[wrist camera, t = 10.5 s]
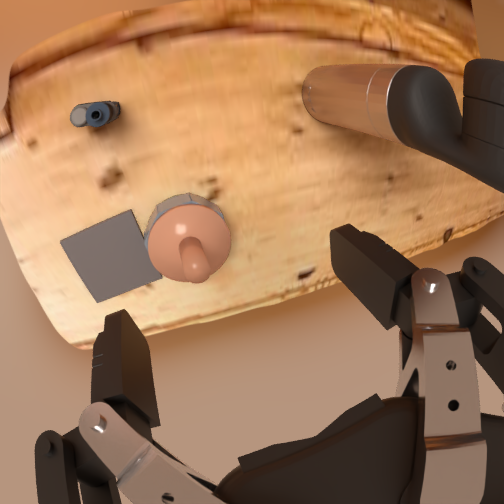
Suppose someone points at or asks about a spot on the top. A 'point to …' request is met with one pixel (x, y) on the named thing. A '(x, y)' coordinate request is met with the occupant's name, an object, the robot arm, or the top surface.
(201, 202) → the bowl
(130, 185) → the top surface
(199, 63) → the top surface
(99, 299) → the mat
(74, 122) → the vaping device
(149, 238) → the lid
